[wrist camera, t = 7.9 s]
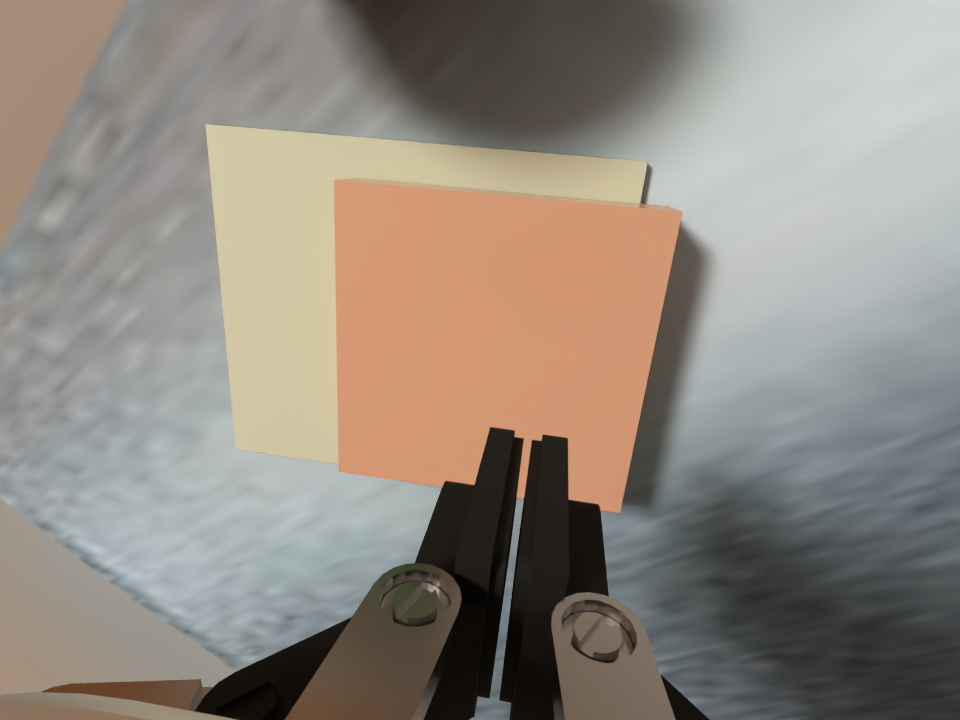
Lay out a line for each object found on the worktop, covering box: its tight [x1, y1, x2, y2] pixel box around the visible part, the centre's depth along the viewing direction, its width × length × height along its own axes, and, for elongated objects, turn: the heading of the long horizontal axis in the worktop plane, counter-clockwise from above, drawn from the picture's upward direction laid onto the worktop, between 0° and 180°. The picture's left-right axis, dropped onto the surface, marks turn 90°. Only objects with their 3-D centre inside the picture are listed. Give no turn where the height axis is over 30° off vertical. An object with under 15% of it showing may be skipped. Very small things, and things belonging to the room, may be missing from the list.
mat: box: [206, 124, 648, 464], centre depth 24 cm, size 18×15×1 cm
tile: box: [334, 178, 682, 513], centre depth 22 cm, size 3×12×12 cm
